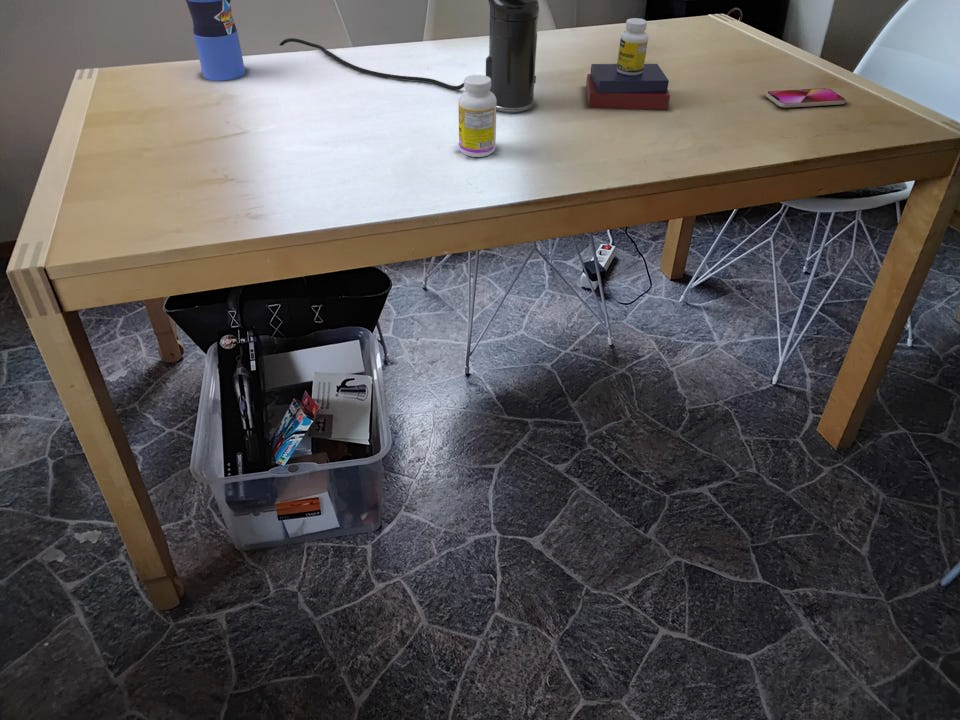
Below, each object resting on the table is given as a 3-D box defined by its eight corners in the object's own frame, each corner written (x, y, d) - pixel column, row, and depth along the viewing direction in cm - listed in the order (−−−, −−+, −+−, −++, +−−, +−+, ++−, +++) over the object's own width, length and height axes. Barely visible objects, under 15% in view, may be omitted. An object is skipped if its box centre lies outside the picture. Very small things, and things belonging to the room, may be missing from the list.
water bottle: (194, 78, 158) (162, -51, 142) (215, 64, 165) (188, -61, 149) (233, 82, 156) (205, -48, 140) (253, 68, 163) (229, -58, 147)
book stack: (588, 107, 148) (591, 80, 144) (585, 87, 156) (588, 61, 153) (667, 110, 147) (672, 83, 144) (660, 89, 156) (664, 63, 152)
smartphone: (848, 100, 150) (782, 104, 147) (846, 105, 151) (781, 109, 148) (828, 87, 155) (764, 91, 153) (826, 92, 156) (763, 95, 153)
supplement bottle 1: (465, 140, 135) (465, 70, 127) (499, 145, 134) (502, 75, 125) (453, 155, 130) (452, 83, 122) (488, 160, 129) (490, 88, 120)
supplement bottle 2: (610, 70, 149) (617, 19, 142) (629, 65, 151) (636, 15, 145) (629, 78, 146) (637, 26, 139) (648, 72, 148) (656, 21, 142)
